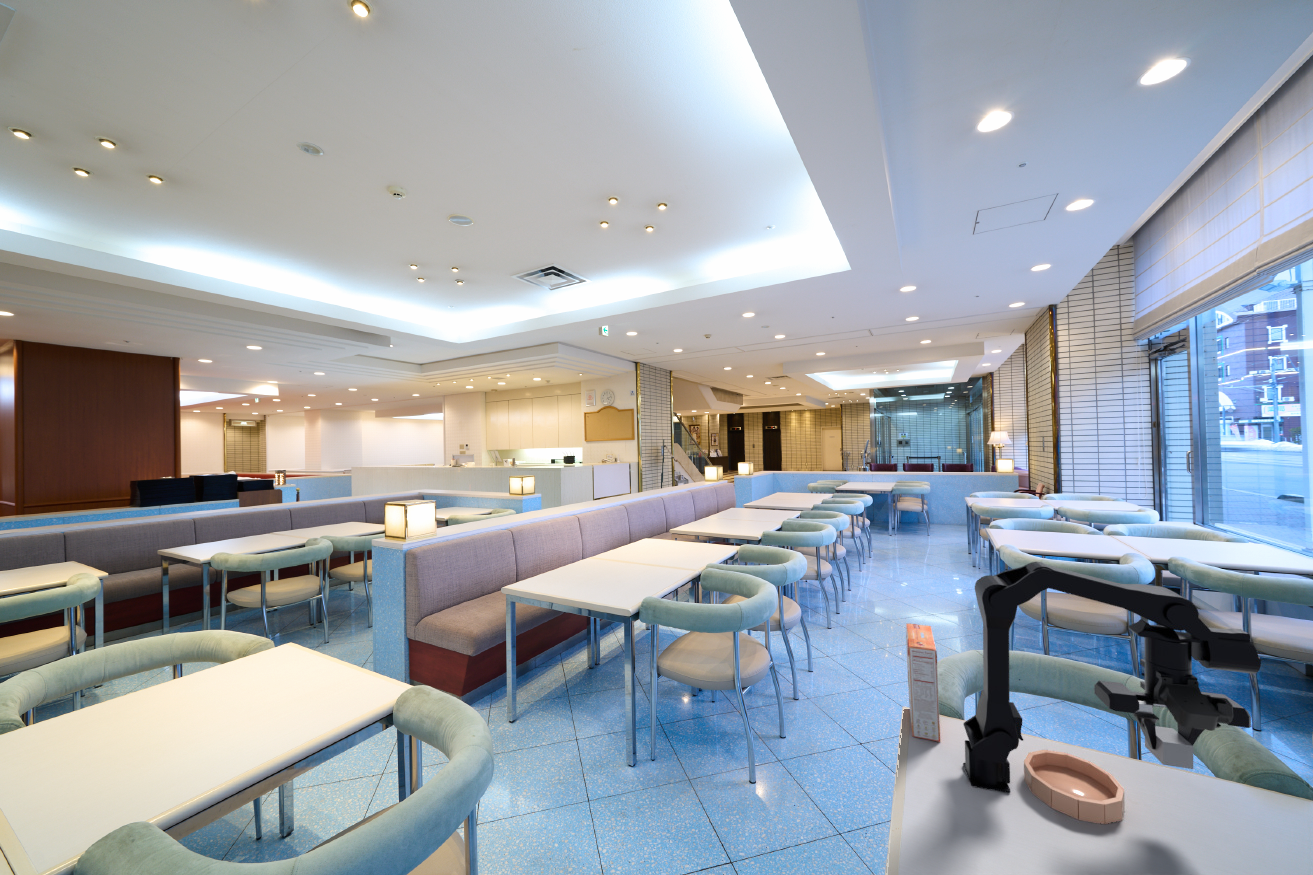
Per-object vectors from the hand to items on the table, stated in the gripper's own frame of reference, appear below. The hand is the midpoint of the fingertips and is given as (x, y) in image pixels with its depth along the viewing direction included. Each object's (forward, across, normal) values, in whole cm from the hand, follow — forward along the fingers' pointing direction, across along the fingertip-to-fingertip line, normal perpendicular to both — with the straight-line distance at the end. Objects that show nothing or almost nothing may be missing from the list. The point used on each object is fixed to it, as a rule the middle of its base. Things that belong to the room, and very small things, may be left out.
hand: (1167, 750), depth 86 cm
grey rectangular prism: (+1, 0, 0) cm, 1 cm away
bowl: (+12, -13, +2) cm, 18 cm away
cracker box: (+12, -35, +19) cm, 42 cm away
